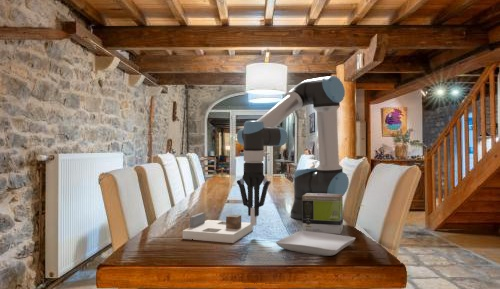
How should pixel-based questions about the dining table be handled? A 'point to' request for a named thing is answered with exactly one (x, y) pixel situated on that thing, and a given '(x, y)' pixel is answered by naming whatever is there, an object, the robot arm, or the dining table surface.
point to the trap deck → (214, 230)
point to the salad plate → (315, 243)
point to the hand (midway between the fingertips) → (253, 224)
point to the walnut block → (233, 221)
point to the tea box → (322, 213)
